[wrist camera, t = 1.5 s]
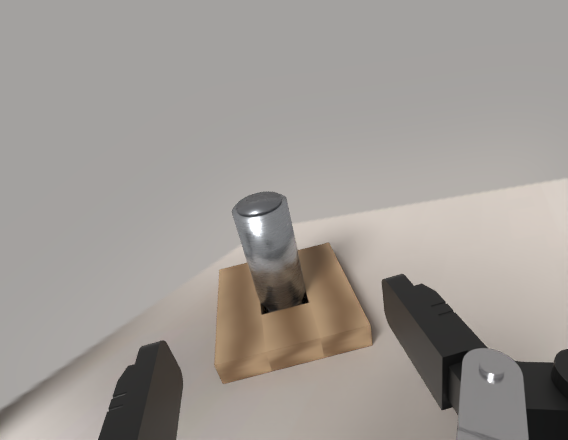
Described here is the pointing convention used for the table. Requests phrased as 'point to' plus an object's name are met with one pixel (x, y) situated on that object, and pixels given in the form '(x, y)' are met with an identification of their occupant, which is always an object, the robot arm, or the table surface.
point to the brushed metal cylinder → (270, 249)
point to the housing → (287, 320)
